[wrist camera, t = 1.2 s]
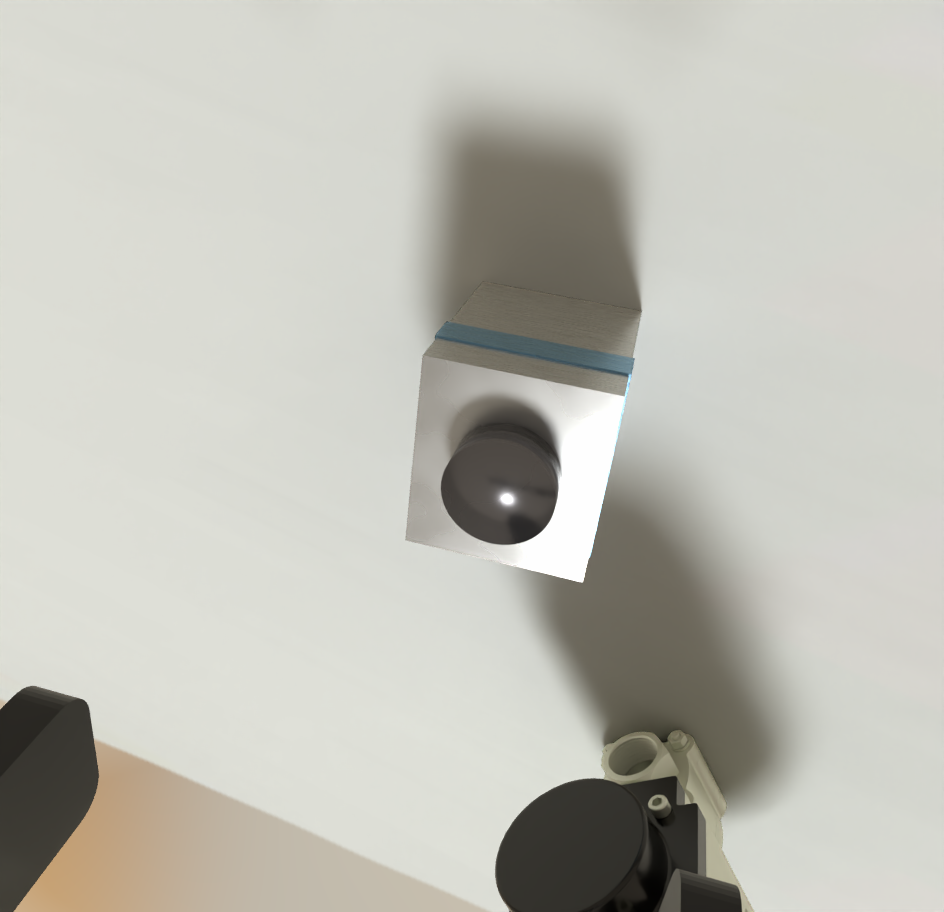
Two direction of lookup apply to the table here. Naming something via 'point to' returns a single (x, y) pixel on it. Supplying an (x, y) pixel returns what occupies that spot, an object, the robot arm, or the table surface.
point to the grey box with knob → (520, 427)
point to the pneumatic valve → (618, 833)
